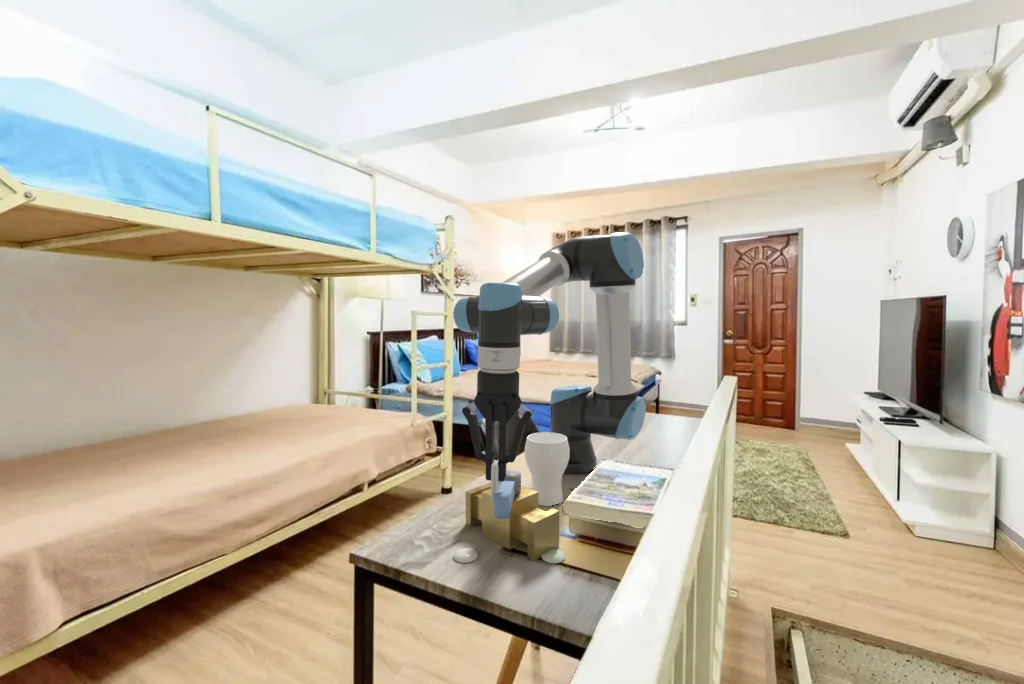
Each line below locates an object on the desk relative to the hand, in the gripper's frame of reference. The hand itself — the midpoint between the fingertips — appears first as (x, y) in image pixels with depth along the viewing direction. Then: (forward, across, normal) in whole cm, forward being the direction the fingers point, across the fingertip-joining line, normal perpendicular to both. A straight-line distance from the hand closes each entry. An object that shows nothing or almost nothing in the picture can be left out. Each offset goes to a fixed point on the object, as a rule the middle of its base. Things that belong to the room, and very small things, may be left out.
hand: (495, 497), depth 82 cm
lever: (+2, +2, +2) cm, 3 cm away
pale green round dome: (+10, +11, 0) cm, 15 cm away
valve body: (+11, +2, +7) cm, 13 cm away
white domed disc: (+11, -5, -2) cm, 12 cm away
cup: (+11, +8, +25) cm, 29 cm away
